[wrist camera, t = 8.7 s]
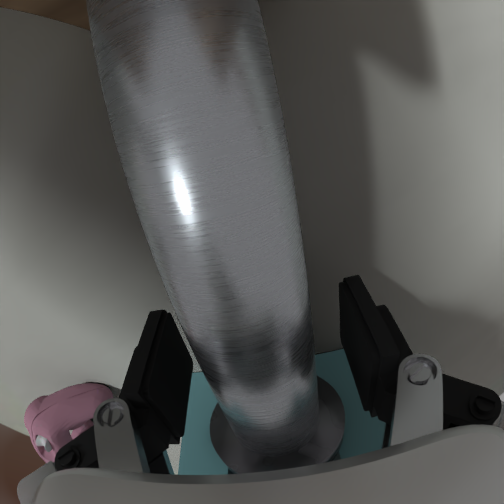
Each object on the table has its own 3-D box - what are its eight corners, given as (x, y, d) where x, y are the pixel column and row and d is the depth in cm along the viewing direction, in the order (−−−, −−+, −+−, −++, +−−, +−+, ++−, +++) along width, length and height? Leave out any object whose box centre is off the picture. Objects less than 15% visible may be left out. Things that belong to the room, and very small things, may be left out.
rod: (94, -16, 6) (-11, -68, 1) (264, -62, 5) (284, -170, 1) (251, 453, 18) (254, 522, 13) (330, 441, 17) (343, 510, 13)
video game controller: (71, 354, 17) (0, 411, 12) (117, 388, 16) (41, 460, 10) (104, 425, 22) (57, 472, 16) (143, 453, 21) (95, 506, 15)
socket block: (190, 372, 16) (175, 504, 9) (357, 345, 15) (401, 475, 8) (227, 437, 19) (226, 532, 13) (351, 418, 19) (374, 511, 12)
